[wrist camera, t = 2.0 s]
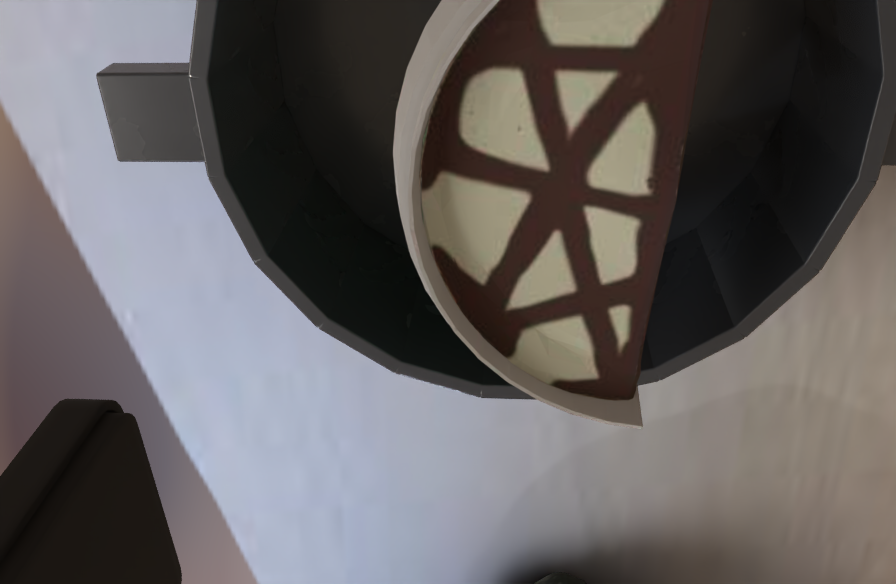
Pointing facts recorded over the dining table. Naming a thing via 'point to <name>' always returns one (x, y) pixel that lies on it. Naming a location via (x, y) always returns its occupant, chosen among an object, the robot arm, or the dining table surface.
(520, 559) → the dining table surface
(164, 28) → the dining table surface
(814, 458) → the dining table surface
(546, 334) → the food container
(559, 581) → the squash
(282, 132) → the pot
